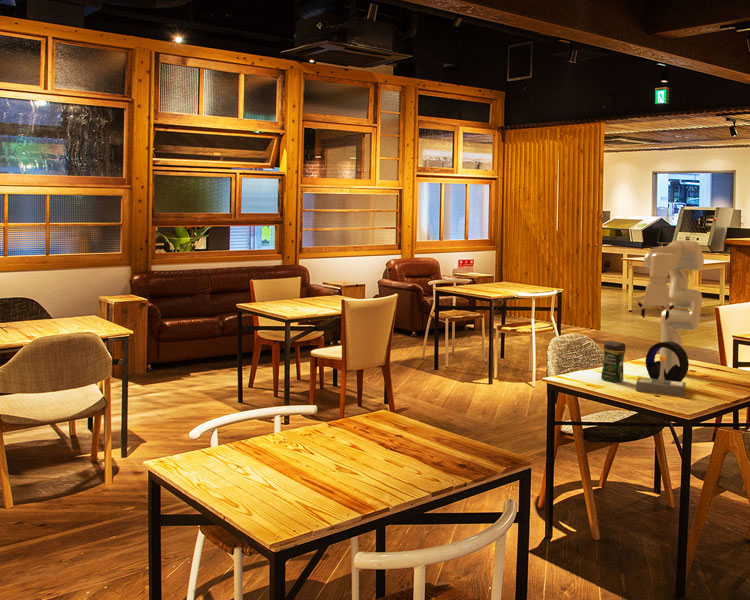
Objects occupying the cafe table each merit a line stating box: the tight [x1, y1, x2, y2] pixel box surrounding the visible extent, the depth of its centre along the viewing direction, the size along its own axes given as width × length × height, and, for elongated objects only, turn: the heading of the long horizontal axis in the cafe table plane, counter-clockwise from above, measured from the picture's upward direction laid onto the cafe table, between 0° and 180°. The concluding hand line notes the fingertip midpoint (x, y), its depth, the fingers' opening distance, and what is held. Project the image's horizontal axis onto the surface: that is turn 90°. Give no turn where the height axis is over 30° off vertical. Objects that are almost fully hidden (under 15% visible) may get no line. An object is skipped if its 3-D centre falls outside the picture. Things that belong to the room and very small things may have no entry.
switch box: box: [635, 376, 687, 398], centre depth 344 cm, size 11×20×6 cm, turn 66°
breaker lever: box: [659, 355, 666, 378], centre depth 343 cm, size 3×2×12 cm
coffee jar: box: [600, 340, 627, 383], centre depth 361 cm, size 10×8×19 cm
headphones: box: [645, 341, 690, 382], centre depth 356 cm, size 19×7×20 cm, turn 38°
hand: (654, 318), depth 349 cm, fingers open, 9 cm apart
